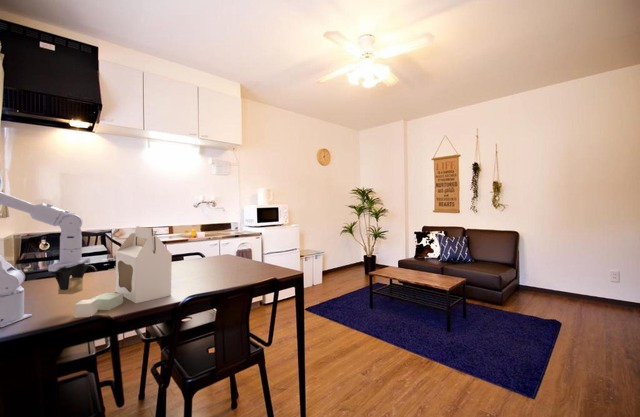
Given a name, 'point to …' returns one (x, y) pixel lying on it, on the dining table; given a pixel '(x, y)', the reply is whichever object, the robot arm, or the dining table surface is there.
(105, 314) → the dining table surface
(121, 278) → the gable box
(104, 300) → the sage block
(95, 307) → the cream cube
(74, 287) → the oak cube
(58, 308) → the dining table surface
